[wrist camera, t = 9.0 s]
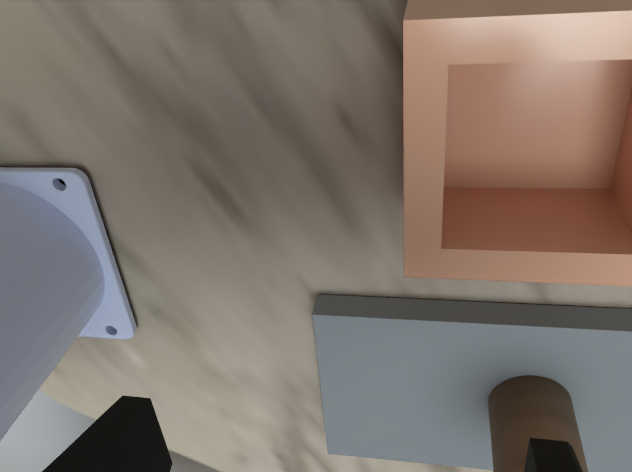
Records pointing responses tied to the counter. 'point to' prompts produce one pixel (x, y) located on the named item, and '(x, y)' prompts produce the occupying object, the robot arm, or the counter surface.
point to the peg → (530, 420)
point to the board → (466, 375)
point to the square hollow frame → (518, 140)
